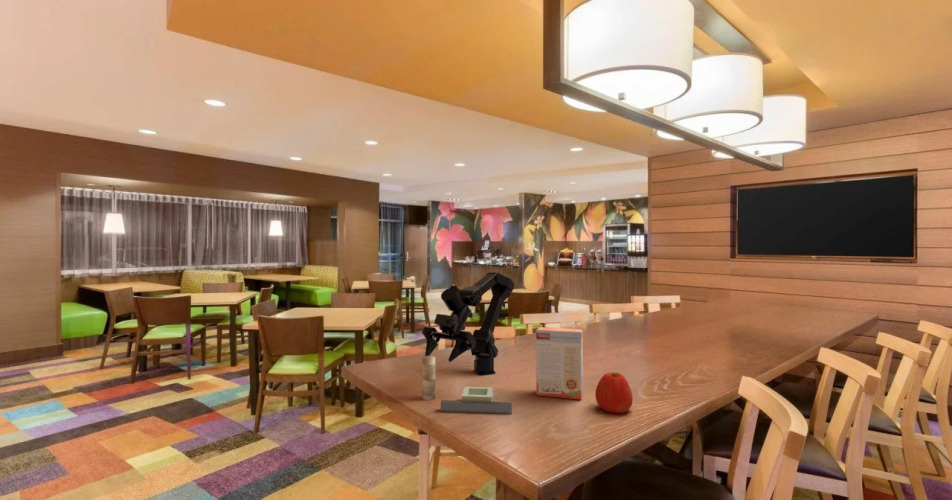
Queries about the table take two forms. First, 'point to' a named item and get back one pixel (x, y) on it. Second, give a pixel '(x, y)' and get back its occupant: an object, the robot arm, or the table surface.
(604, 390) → the apple
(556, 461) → the table surface
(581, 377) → the cracker box
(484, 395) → the socket block
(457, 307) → the robot arm
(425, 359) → the birch dowel
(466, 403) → the rail
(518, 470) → the table surface
